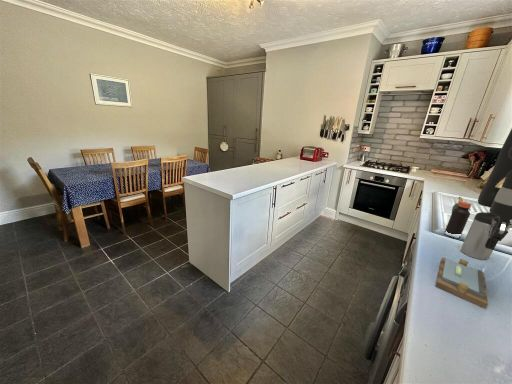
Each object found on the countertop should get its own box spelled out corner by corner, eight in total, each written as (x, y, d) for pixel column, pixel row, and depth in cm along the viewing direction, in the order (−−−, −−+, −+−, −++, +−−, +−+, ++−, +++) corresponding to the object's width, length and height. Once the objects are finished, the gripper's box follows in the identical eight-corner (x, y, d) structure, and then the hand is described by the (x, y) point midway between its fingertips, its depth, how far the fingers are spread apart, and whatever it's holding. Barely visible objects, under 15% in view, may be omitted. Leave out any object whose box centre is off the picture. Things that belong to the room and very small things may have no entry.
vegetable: (456, 230, 124) (469, 199, 118) (448, 229, 125) (460, 198, 119) (451, 227, 129) (463, 196, 122) (443, 225, 129) (455, 195, 123)
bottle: (442, 234, 118) (455, 201, 111) (445, 231, 122) (458, 199, 115) (458, 240, 113) (473, 206, 106) (460, 236, 117) (475, 203, 110)
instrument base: (440, 261, 92) (444, 252, 91) (482, 276, 84) (486, 267, 83) (435, 286, 77) (439, 276, 75) (485, 308, 68) (491, 298, 67)
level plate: (444, 260, 89) (447, 255, 88) (480, 274, 82) (484, 268, 81) (441, 279, 77) (444, 273, 76) (483, 297, 70) (486, 290, 69)
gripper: (533, 211, 61) (507, 261, 66) (525, 201, 70) (502, 245, 75) (496, 203, 66) (474, 250, 71) (492, 195, 75) (473, 237, 80)
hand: (488, 248), depth 73 cm, fingers closed
